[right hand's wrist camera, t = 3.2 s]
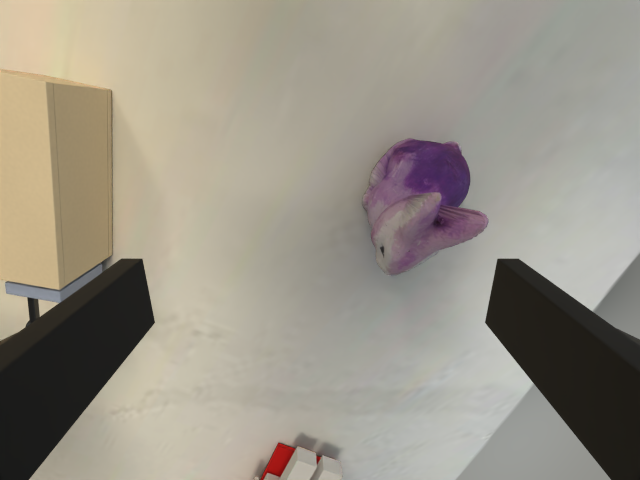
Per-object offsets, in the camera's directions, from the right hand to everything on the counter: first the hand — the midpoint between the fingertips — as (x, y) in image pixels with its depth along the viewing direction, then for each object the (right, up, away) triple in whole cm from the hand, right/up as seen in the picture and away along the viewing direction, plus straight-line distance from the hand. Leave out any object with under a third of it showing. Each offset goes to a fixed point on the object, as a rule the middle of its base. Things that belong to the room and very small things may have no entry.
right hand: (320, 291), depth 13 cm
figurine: (+9, +7, +23) cm, 25 cm away
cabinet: (-24, +9, +22) cm, 34 cm away
